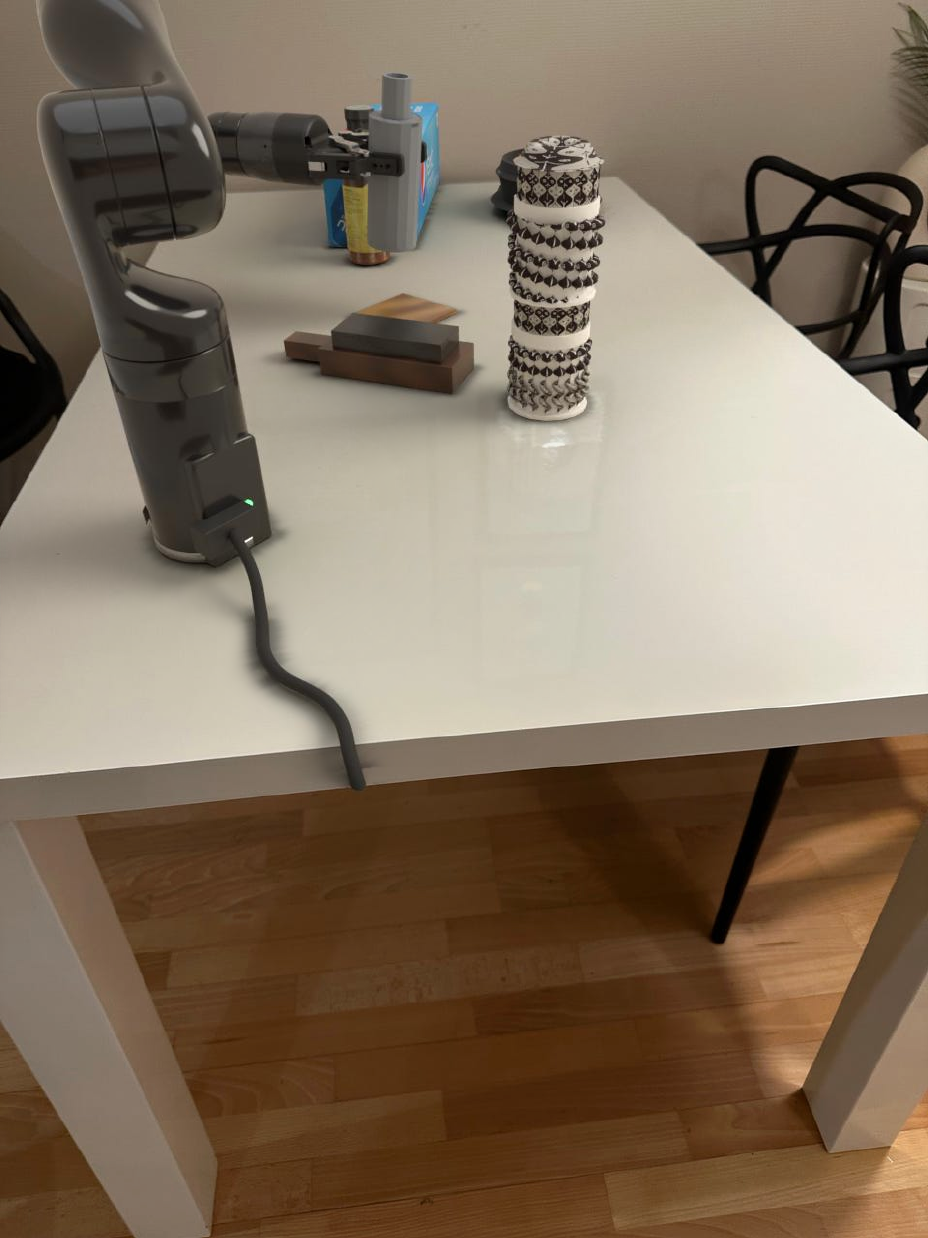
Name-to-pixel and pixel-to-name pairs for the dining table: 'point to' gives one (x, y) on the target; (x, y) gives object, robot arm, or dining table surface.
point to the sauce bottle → (359, 200)
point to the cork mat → (410, 309)
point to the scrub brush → (388, 352)
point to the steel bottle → (393, 195)
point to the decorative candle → (553, 276)
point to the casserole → (508, 181)
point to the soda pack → (426, 184)
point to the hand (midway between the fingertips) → (414, 158)
